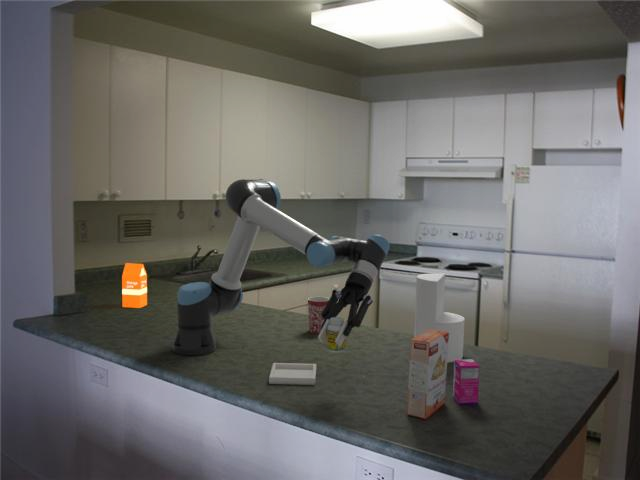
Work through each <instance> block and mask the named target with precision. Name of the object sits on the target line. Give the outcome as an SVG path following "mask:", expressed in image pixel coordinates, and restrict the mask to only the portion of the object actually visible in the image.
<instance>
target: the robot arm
mask: <svg viewBox="0 0 640 480" xmlns="http://www.w3.org/2000/svg"><path fill="white" fill-rule="evenodd" d="M279 189H280V188H278V186H277V185H276V183H274V182H273V181H271V180H269V179H263V178H259V179H244V178H243V179H237V180H235V181H234V182H232V183H231V184H229V186H227V189H226V192H225V195H224V197H225V199H224V200H225V203H226V206H227V208H228V209H229V210H230V211H231V212H232V213H233V214H234V215H235V216H237V217H236V222H235V224H234V227H233V230H232V232H231V234H230V238H229V240H228V243H227V246H226V248H225V251H224V253H223V256H222V259H221V262H220V264H219V267H218V270H217V272H214V273H213V274H211V277H210V280H209V282H204V281H197V282H190V283H187V284H183V285H181V286H180V287H179V288H178V291H177V298H176V302H177V303H176V304H177V305H176V306H177V330H176V332H175V336H174V340H173V343H172V352H174V353H175V354H177V355H181V356H201V355H207V354H211V353H214V352H215V351H216V349H217V342H216V339H215V335H214V333H213V330H212V318H213V317H216V316H219V315H223V314H228V313H231V312H233V311H234V310H236V309H238V308H239V306H240V305H241V304H242V301H243V299H244V298H243V297H244V295H243V292H242V291H243V289H242V286H243V285H242V282H241V280H240V279H241V277H242V274H243V273H244V270H245V267H246V264H247V261H248V258H249V257H250V253H251V251H252V248H253V246H254V243H255V241H256V238H257V236H258V234H259V230H260V228H262V229H264V230H265V231H267V232H268V233H270V234H271V235H273V236H275V237H277V238H278V239H279V240H281V241H283V242H285V243H286V244H288V245H289V246H291V247H293V248H294V249H295V250H296V251H299V252H301V253H302V254H303V255H305V256H306V259H307V260H308V262H309V264H310V265H312V266H314V267H317V268H319V267H323V268H324V267H328V266H330V265H335V264H340V263H343V262H344V263H345V262H349V263H355V264H354V265H353V267H352V269H351V271H350V273H349V275H348V277H347V279H346V281H345V284H344V286H343V288H341V290H336V289H333V290H332V292H331V296H330V298H329V301H328V303H327V305H326V307H325V308H324V310H323V312H322V314H321V316H322V317H323V319H324V322H323V324H322V326H321V329H322V330H321V332H320V334H318V336H317V340H319V342H320V343H322V344H324V343H325V341H326V340H327V328H328V326H329V325H330V318H332V317H338V315H339V314H340V313H341V312H342V311H343V309H344V308H347V306H349V305H350V307H349V311H348V316H347V317H348V318H347V320H346V322H344V323H343V326H342V328H341V330H340V332H339V334H338V336H337V338H336V340H335V342H336V344H337V345H338V347H341V345H342V343H343V341H344V339H345V340H346V338H345V337H348V336H350V333H351V331H352V329H353V328H355V327H356V328H360V327H361V325H362V322H363V320H364V319H365V316H366V314H367V312H368V309H369V307H370V306H371V304H373V302H374V301H373V298H372V297H371V295H370V294H369V292H370V290H371V288H372V285H373V283H374V281H375V280H376V277H377V275H378V274H379V271H380V269H381V267H382V265H383V263H384V261H385V260H386V258H387V255H388V253H389V250H390V248H391V247H390V246H391V245H390V243H389V241H388V239H387V238H386V237H384V236H382V235H381V234H375V233H374V234H371V235H369V236H368V238H367V240H363V239H362V240H361V239H357V238H351V237H346V236H344V235H332V236H331V237H330V238H328V239H327V238H325V237H323V236H322V235H320V234H318V233H317V232H315V231H314V230H312V229H310V228H309V227H307V226H305V225H304V224H302V223H301V222H298V221H297V220H296V219H294V218H292V217H290V216H289V215H287V214H286V213H284V212H282V211H281V210H279V209H278V208H279V207H280V205H281V202H282V197H281V192H280V190H279ZM360 303H361V304H360Z"/></svg>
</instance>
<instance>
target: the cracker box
mask: <svg viewBox="0 0 640 480" xmlns="http://www.w3.org/2000/svg"><path fill="white" fill-rule="evenodd" d="M448 340H449V333H448V332H445V331H439V330H433V329H430V330H428V331H426V332H425V333H423V334H421V335H419V336H417V337H415V338H414V337H413V338H411V339H410V346H409V347H410V351H409V366H408V367H409V368H408V370H409V371H408V388H407V389H408V390H407V404H406V405H407V407H406V415H408V416H412V417H415V418H419V419H424V420H427V419H428V418H429V417H430V416H431V415H433V414H434V413H435V412H437V411H438V409H440V408H441V407H442V406H443V405H445V404H446V403H445V402H446V384H447V371H448V362H447V356H448Z"/></svg>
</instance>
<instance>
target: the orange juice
mask: <svg viewBox="0 0 640 480" xmlns="http://www.w3.org/2000/svg"><path fill="white" fill-rule="evenodd" d="M121 288H122V290H121V295H122V299H121V300H122V305H121V306H122V308H134V309H135V308H136V309H141V308H143V307H145V306H147V305H148V274H147V271H146V269H145V266H144V263H128V262H126V263H125V264H124V268H123V271H122V275H121Z"/></svg>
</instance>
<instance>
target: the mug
mask: <svg viewBox="0 0 640 480" xmlns="http://www.w3.org/2000/svg"><path fill="white" fill-rule="evenodd" d="M329 299H330V298H329V297H326V296H311V297H308V298H307V308H308V330H309V333H311V334H314V335H315V334H317V335H319V334H320V332H321V330H322V329H321V326H322V324H323V322H324V319H323V317H322V316H321V314H322V312H323V310H324V308H325V307H326V305H327V303H328V301H329Z"/></svg>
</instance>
